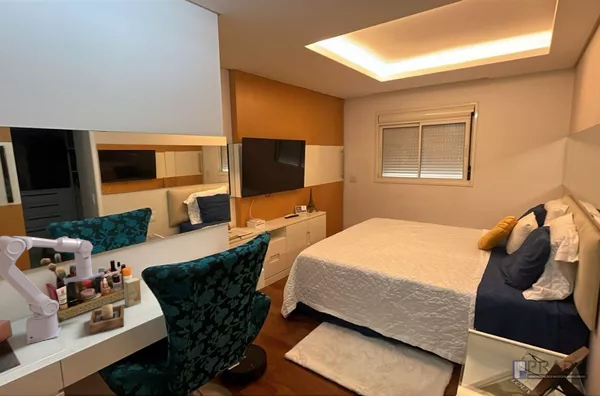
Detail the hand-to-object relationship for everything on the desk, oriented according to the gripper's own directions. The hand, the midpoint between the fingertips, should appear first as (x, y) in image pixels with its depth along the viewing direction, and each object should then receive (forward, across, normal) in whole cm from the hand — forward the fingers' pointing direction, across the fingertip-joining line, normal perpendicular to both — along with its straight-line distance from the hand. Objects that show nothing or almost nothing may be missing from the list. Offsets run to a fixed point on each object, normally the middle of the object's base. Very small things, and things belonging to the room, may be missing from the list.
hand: (86, 295), depth 136 cm
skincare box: (+11, +18, +4) cm, 21 cm away
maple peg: (+10, +7, -10) cm, 16 cm away
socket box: (+10, +7, -11) cm, 17 cm away
